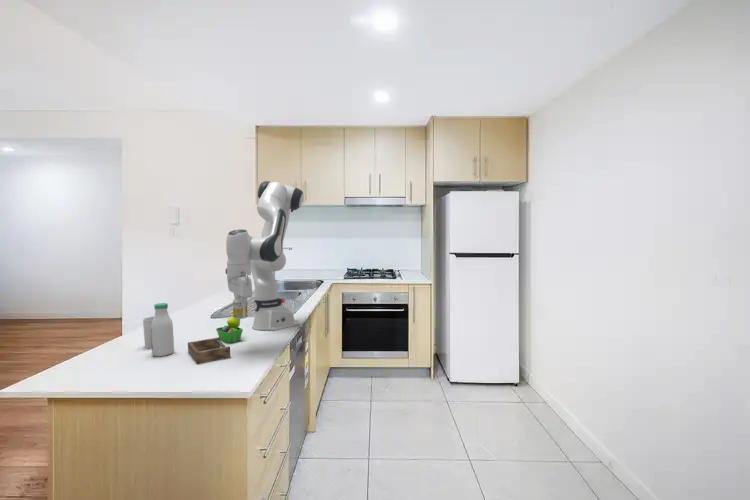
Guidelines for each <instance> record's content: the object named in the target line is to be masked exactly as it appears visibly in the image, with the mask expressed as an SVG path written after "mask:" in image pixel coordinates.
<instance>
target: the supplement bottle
mask: <svg viewBox="0 0 750 500" xmlns="http://www.w3.org/2000/svg"><path fill="white" fill-rule="evenodd" d="M240 302H241V296H239V295H237V294H235V297H234V299H233V300H232V311H233V312H232V313H233V314H232V316H233V317H234V319H240V320H244V319H246V318H248V316H249V314H248V300H247V301H246V307H241V306H240Z"/></svg>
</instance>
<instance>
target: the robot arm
mask: <svg viewBox="0 0 750 500" xmlns="http://www.w3.org/2000/svg"><path fill="white" fill-rule="evenodd" d="M257 197H258V199H259V200H258V202H257V204H256V209H257V213H258V215H259V216H260V217H261V218H262V219H263V220H264V221H265V222H264V224H263V228H262V229H261V230H262V231H261V237H254V236H252V235H250V234H249V232H248V230H246V229H234V230H230V231H229V232H227V236H226V242H225V243H226V244H225V245H226V256H227V262H226V268H225V270H224V271H225V275H226V279H227V286H228V287H227V288H228V290H229V292H230V293H233V296H234V298H235V294H237V295H239V296H241V302H240V306H241V307H246V301H247V302H248V298H252V296H253V283H254V301H253V308H254V309H253V310H254V319H253V323H252V329H254V330H257V331H278V330H283V329H286V328H290V327H296V326H298V325H299V321H298V320H296V319H295V317H294V313H293V312H292V310H290V309H289V308H287V307H286V306H285V305H283V304H285V303H286V299H284V298H280V297H279V286H278V285H279V283H278V281H277V279H276V277H275V276H274V272H278V271H280V270H283V268H284V267H285V266H286V263H287V257H286V256H285V253H284V240H285V235H286V232H287V228H288V224H289V222H290V221H289V220H290V214H291V213H293V212H294V211H296V210H298V209H299V208H301V206H302V205H303V202H304V192H303V190H301V189H300V188H298V187H294V186H292V185H289V184H284V183H281V182H279V181H274V182H273V181H268V180H265V181H262V182H260V184H259V186H258V189H257ZM251 275H252V278H251V277H250V276H251ZM252 279H253V283H252Z"/></svg>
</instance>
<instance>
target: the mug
mask: <svg viewBox="0 0 750 500" xmlns="http://www.w3.org/2000/svg"><path fill="white" fill-rule="evenodd" d="M154 316H155V315H154ZM154 316H153V315H152V316H147V317H144V318H143V319H142V322H143V323H142V324H143V336H144V337H143V338H144V340H143V341H144V348H146V349H152V343H151V324H152V320H153V318H154Z"/></svg>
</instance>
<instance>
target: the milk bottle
mask: <svg viewBox="0 0 750 500" xmlns="http://www.w3.org/2000/svg"><path fill="white" fill-rule="evenodd" d="M168 307H169V305H168V303H167V302H161V303H160V302H159V303H156V304H154V311H155V312H154V318H153V320H152V324H151V343H152V348H151V354H152V356H153V357H165V356H169V355H172V354H174V352H175V343H174V341H175V339H174V337H175V336H174V324H173V320H172V318H171V316H170V315H169V311H168V309H169V308H168Z"/></svg>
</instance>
